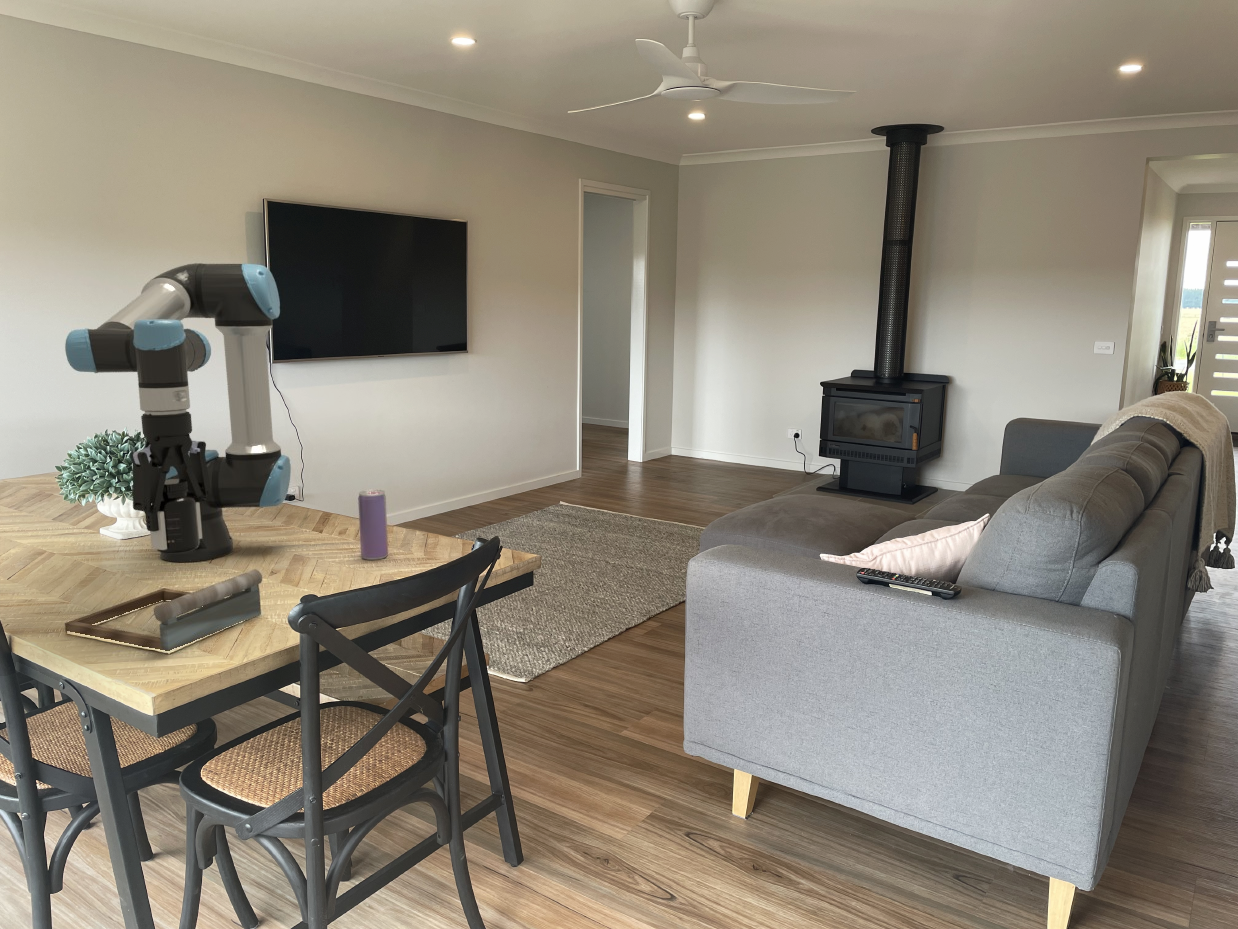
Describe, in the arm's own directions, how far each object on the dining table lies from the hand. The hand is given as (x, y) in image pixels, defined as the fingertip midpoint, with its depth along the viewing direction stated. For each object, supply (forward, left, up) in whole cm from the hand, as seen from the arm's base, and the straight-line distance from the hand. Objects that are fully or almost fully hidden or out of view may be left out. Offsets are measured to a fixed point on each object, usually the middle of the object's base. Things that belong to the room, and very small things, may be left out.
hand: (177, 543), depth 153 cm
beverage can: (+4, +49, -16) cm, 52 cm away
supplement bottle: (0, 0, -1) cm, 1 cm away
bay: (-4, 0, -15) cm, 16 cm away
